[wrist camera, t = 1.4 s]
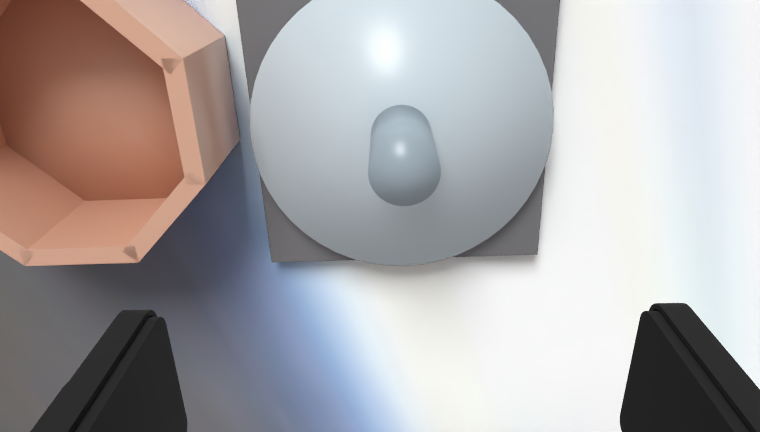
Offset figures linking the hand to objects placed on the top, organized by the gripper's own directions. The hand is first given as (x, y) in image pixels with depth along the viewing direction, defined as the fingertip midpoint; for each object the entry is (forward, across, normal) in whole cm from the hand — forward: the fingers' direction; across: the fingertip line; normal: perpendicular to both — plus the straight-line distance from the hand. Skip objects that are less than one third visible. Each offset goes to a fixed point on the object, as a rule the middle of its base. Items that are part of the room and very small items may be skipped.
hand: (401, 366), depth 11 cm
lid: (+17, 0, 0) cm, 17 cm away
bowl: (+18, +14, -1) cm, 23 cm away
